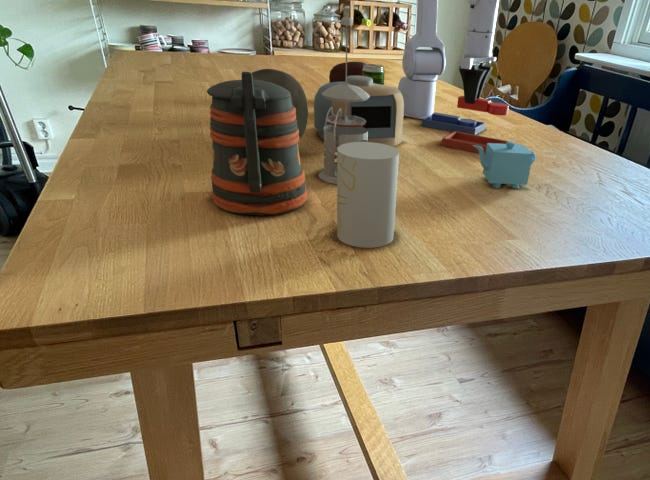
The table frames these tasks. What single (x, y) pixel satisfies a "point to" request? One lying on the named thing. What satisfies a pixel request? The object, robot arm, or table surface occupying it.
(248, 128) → the tankard
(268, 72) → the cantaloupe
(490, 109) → the red spoon
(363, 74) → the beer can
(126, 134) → the table surface
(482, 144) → the red tray
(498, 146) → the teapot
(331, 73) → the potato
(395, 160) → the cup
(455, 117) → the blue spoon
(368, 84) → the alarm clock
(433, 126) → the blue tray
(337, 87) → the french press
